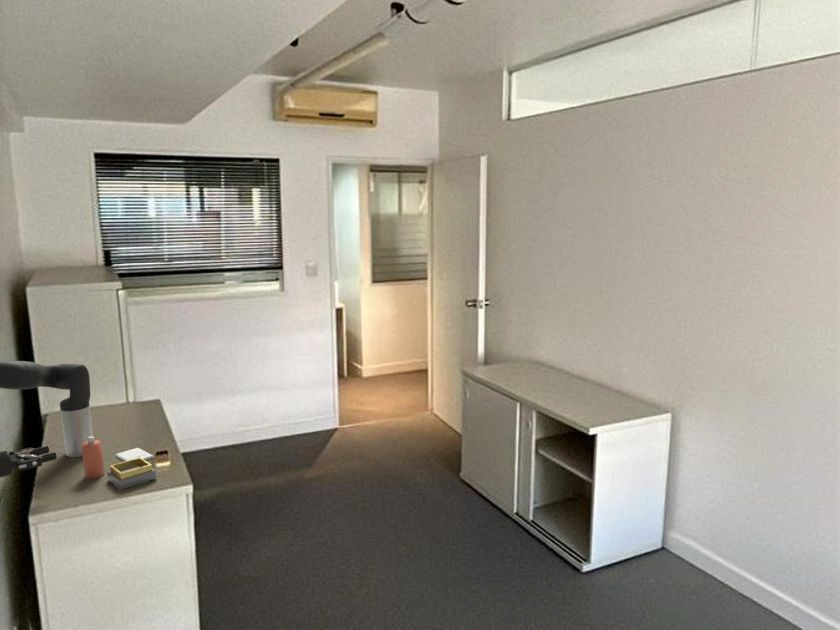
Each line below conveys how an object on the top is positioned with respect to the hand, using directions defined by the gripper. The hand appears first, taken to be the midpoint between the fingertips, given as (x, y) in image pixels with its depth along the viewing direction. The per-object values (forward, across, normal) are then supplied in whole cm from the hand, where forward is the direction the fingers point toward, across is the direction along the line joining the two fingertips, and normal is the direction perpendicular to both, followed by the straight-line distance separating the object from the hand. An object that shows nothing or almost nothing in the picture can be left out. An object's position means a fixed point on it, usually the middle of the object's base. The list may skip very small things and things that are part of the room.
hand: (52, 452), depth 193 cm
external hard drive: (+27, +6, +12) cm, 30 cm away
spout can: (+12, 0, +11) cm, 16 cm away
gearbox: (+18, -14, +11) cm, 26 cm away
